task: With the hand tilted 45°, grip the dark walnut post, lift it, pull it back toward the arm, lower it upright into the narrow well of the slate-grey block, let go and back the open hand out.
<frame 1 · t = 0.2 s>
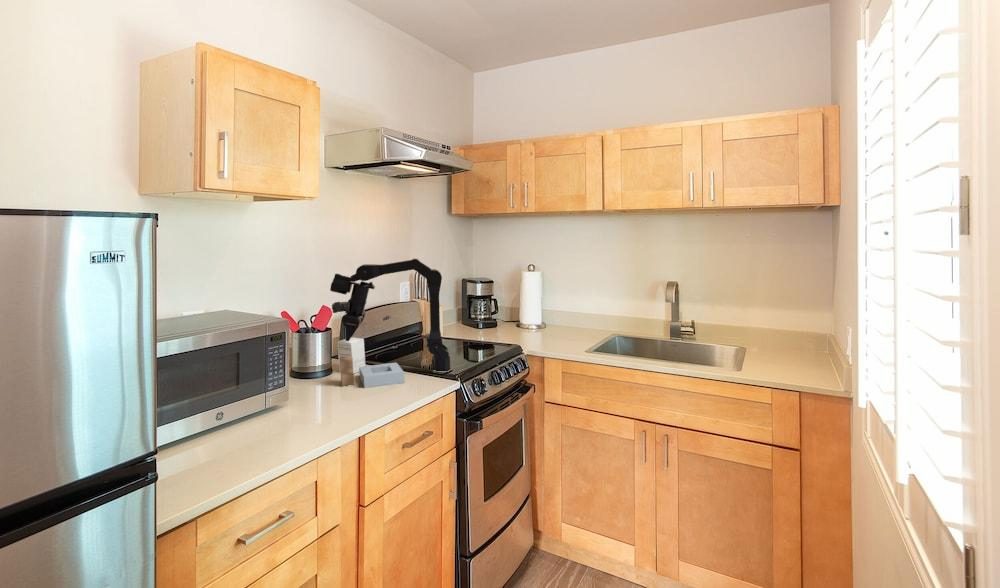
hand: (349, 338, 179), 15 cm above the counter, tool tilted 15°, fingers open, 9 cm apart
well block: (381, 379, 177), on the counter
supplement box: (352, 371, 190), on the counter
walnut post: (347, 384, 173), on the counter
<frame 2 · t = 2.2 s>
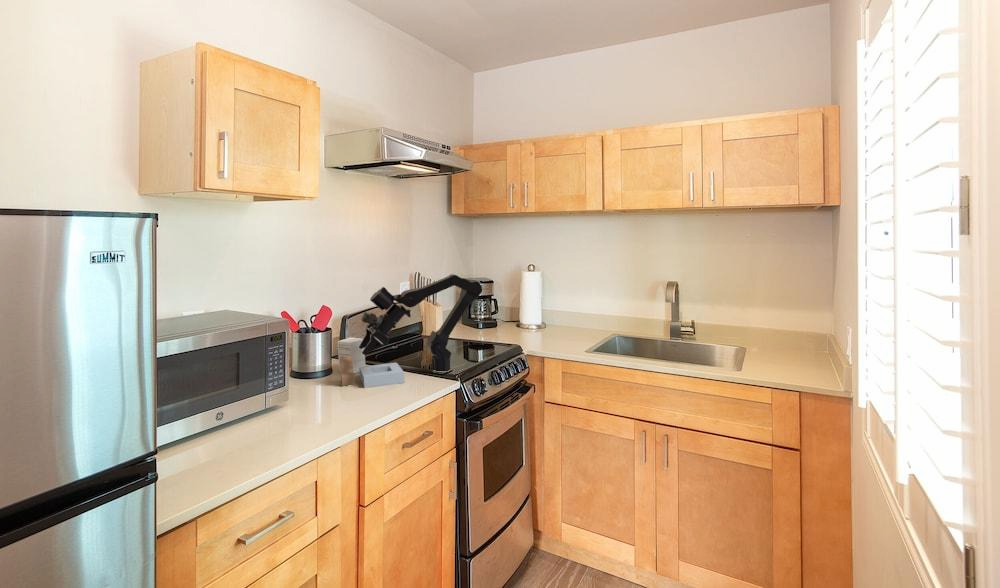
hand: (361, 350, 173), 12 cm above the counter, tool tilted 45°, fingers open, 9 cm apart
nothing on the counter moved.
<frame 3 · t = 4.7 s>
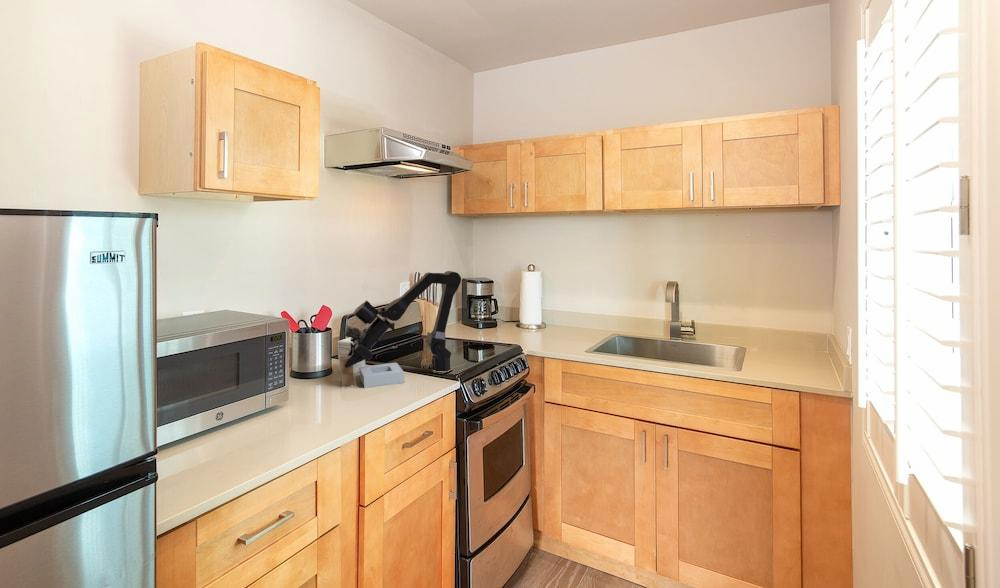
hand: (344, 365, 172), 7 cm above the counter, tool tilted 45°, fingers closed on walnut post, 4 cm apart
walnut post: (347, 384, 173), on the counter, touching gripper
everything else where it was.
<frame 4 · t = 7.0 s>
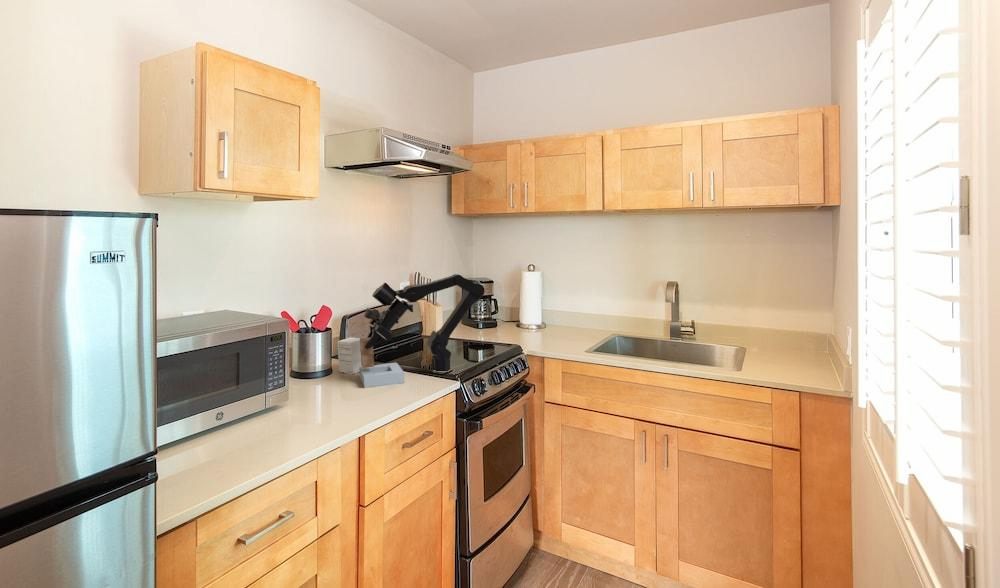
hand: (364, 347, 174), 13 cm above the counter, tool tilted 45°, fingers closed on walnut post, 4 cm apart
walnut post: (367, 365, 175), point 6 cm above the counter, touching gripper
everything else where it was.
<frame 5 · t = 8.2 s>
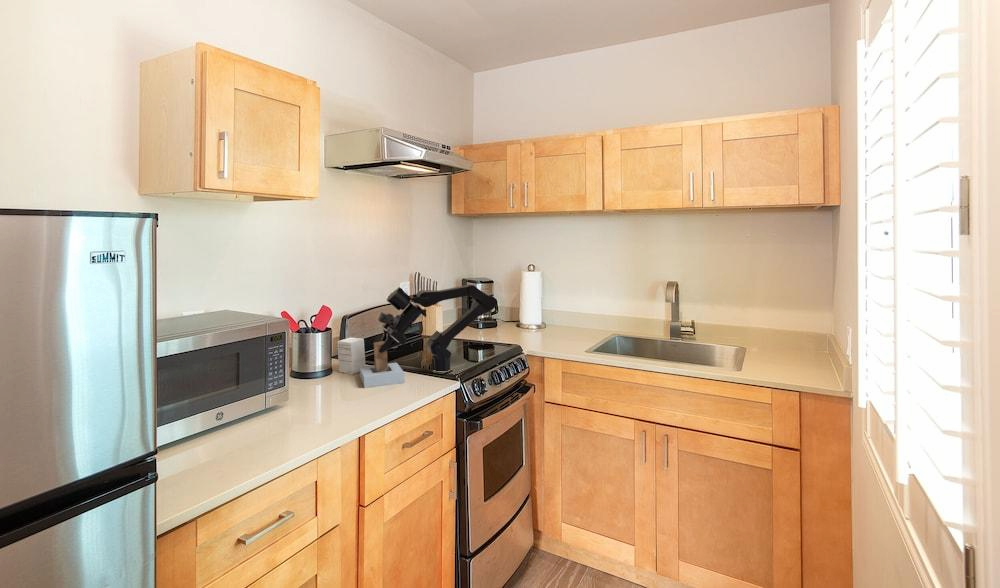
hand: (378, 350, 176), 11 cm above the counter, tool tilted 45°, fingers closed on walnut post, 4 cm apart
walnut post: (381, 369, 177), point 4 cm above the counter, touching gripper
everything else where it was.
when the fingers open (9 cm above the counter, at t = 9.3 s): walnut post drops 1 cm, resting on well block.
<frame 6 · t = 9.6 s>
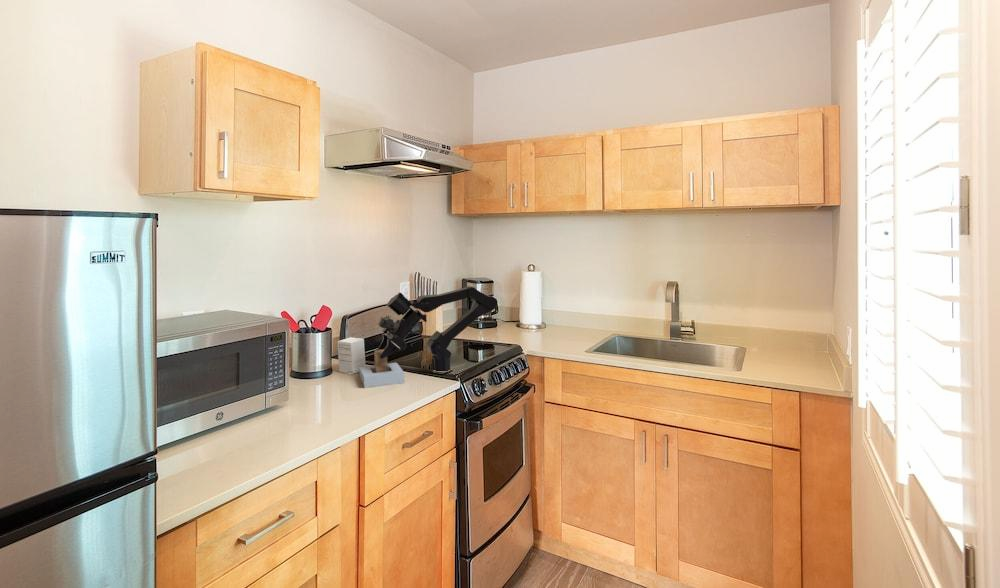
hand: (378, 355, 176), 9 cm above the counter, tool tilted 45°, fingers open, 7 cm apart
walnut post: (381, 377, 177), point 1 cm above the counter, touching well block
everything else where it was.
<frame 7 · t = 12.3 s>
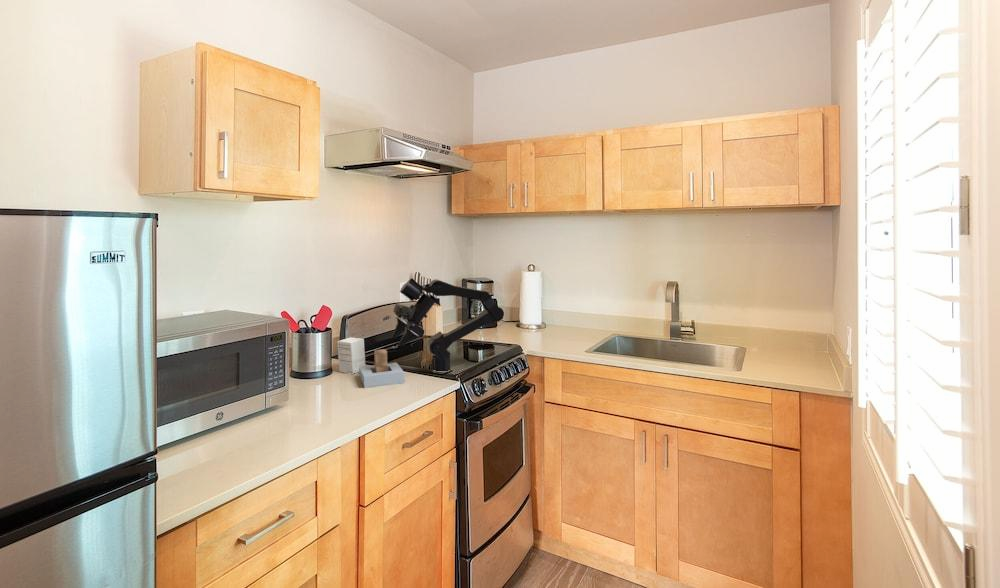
hand: (396, 341, 179), 14 cm above the counter, tool tilted 40°, fingers open, 9 cm apart
nothing on the counter moved.
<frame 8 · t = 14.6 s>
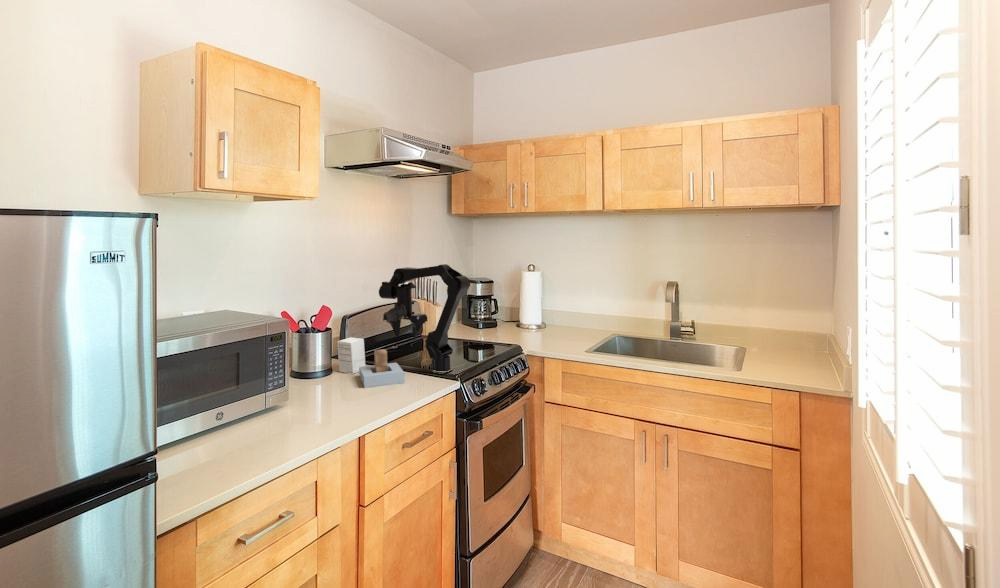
hand: (406, 338, 191), 12 cm above the counter, tool pointing down, fingers open, 9 cm apart
nothing on the counter moved.
at the end: walnut post 0.1 cm off-centre on the well block, point 1.0 cm above the well block's base; walnut post tilted 0°; the gripper is holding nothing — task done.
